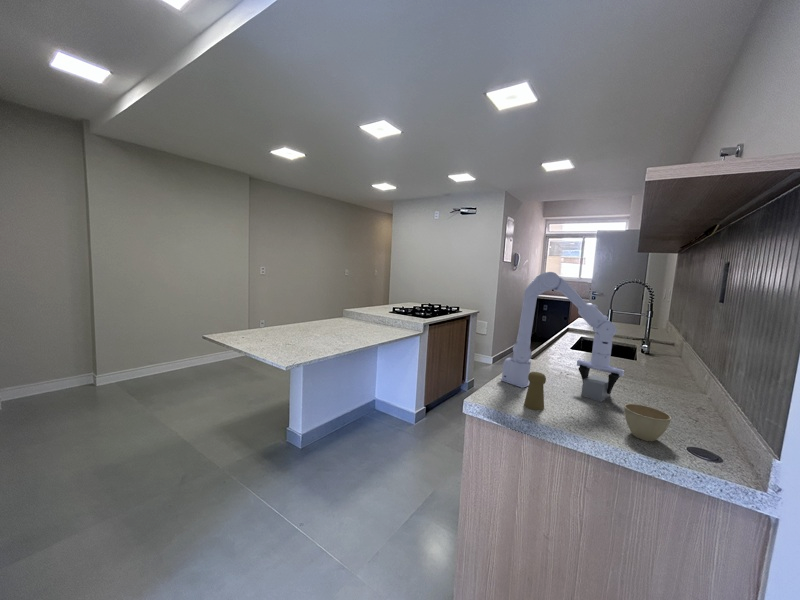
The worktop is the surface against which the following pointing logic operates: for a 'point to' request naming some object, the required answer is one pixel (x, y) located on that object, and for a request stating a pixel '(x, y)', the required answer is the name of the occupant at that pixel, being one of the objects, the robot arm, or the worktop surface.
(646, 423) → the pale yellow bowl
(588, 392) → the grey rectangular block
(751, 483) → the worktop surface
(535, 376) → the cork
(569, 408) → the worktop surface
